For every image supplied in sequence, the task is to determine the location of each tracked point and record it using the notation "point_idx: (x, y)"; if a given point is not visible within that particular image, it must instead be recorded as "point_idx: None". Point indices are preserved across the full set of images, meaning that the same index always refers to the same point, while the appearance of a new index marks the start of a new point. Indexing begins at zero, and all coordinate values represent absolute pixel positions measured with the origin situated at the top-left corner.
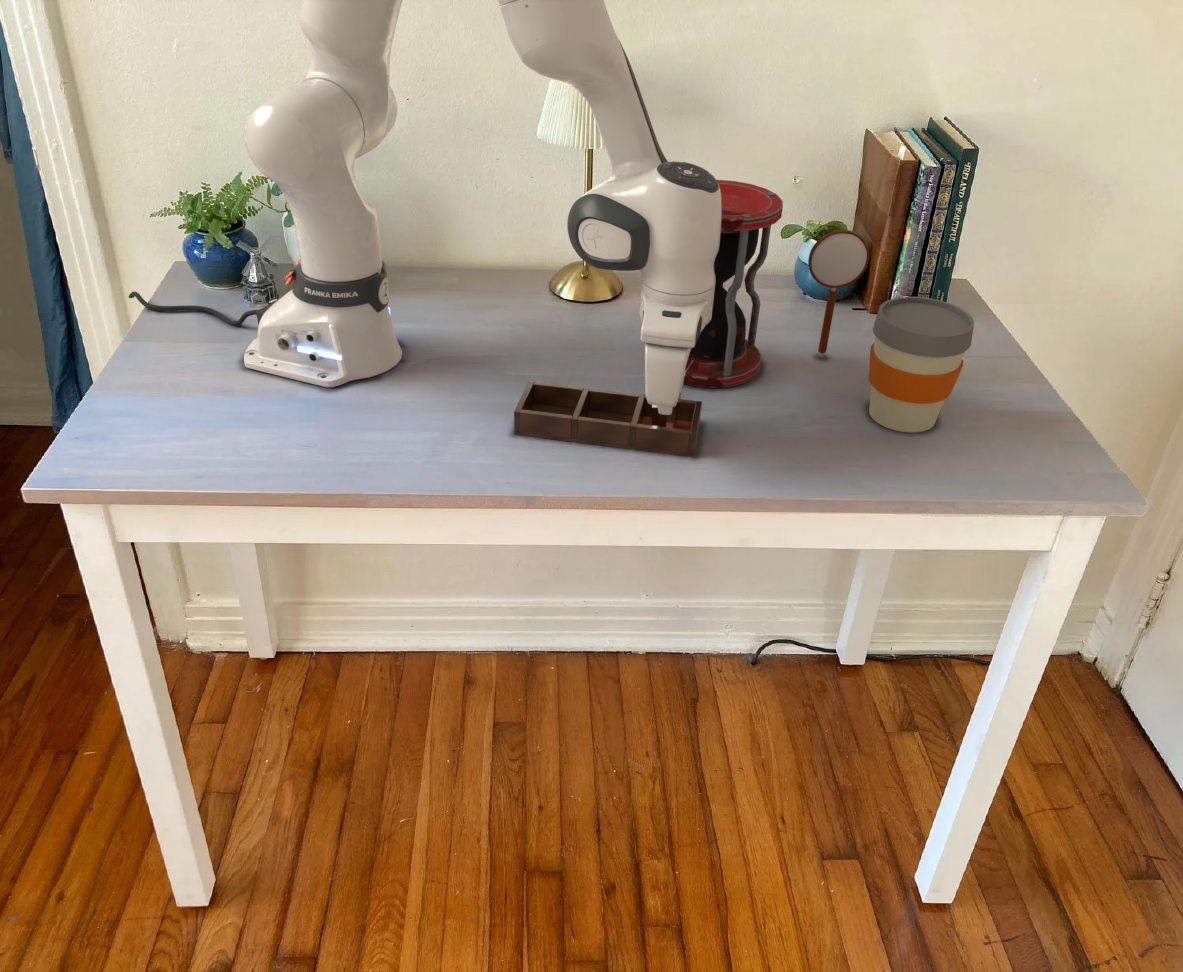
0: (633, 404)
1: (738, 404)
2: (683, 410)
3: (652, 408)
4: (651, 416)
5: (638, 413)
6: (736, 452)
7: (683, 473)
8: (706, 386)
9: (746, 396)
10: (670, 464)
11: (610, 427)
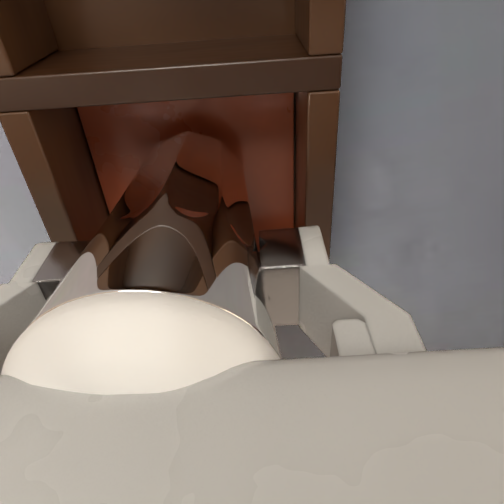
0: (302, 16)
1: (445, 325)
2: None
3: (131, 183)
4: (164, 151)
5: (126, 96)
6: None
7: (12, 255)
8: None
9: (492, 335)
10: (35, 214)
11: None
